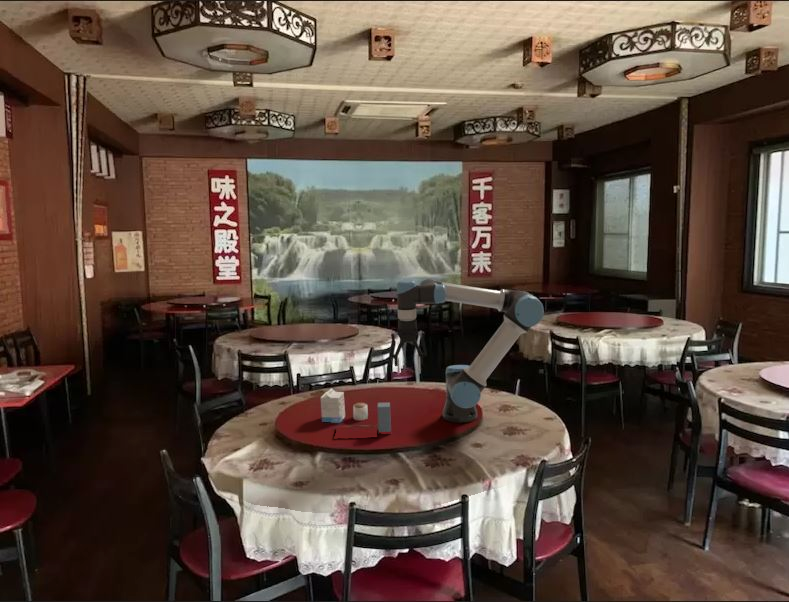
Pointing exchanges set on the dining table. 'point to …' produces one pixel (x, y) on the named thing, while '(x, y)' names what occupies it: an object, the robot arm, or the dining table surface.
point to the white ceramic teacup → (360, 411)
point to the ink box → (332, 406)
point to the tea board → (359, 426)
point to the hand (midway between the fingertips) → (409, 373)
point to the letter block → (384, 417)
